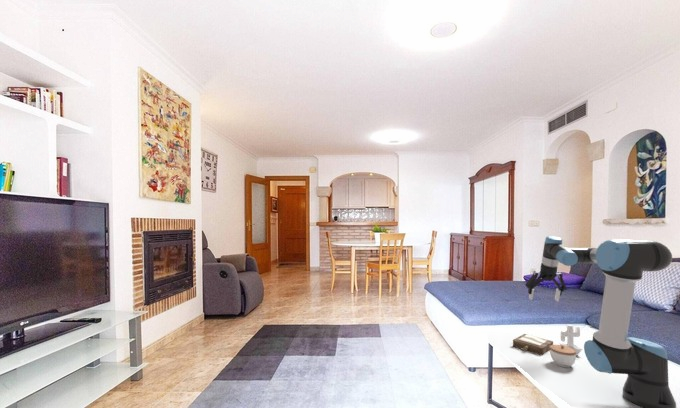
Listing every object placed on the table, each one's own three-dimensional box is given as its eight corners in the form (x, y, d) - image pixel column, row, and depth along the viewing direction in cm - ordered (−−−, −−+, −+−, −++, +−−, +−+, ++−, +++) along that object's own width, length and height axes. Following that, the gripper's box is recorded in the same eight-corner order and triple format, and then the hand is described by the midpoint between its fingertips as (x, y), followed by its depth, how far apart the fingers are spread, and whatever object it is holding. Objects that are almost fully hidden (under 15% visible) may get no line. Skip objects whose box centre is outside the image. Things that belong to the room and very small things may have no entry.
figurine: (557, 350, 176) (556, 322, 176) (575, 350, 175) (574, 323, 176) (565, 355, 168) (564, 326, 169) (584, 356, 168) (583, 327, 169)
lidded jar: (581, 370, 151) (580, 350, 152) (555, 368, 153) (555, 348, 154) (569, 361, 162) (569, 342, 162) (546, 359, 164) (545, 340, 164)
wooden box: (540, 356, 166) (540, 348, 167) (510, 347, 178) (510, 340, 178) (553, 347, 179) (553, 340, 179) (524, 340, 190) (524, 333, 191)
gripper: (570, 262, 173) (563, 297, 179) (522, 260, 176) (516, 294, 181) (578, 268, 166) (571, 304, 171) (528, 266, 169) (522, 302, 174)
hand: (543, 299), depth 176 cm, fingers open, 13 cm apart
